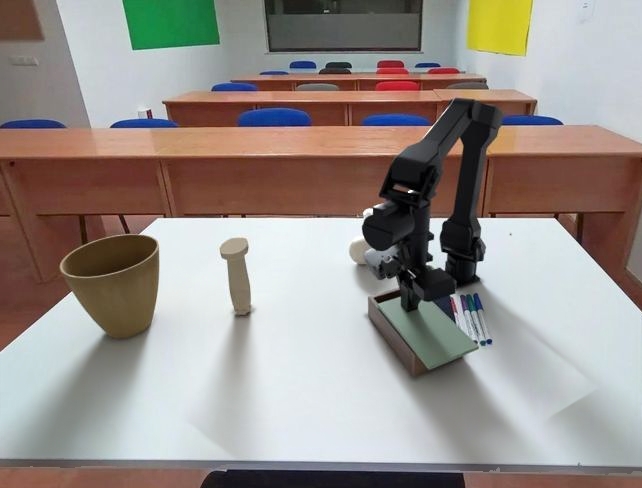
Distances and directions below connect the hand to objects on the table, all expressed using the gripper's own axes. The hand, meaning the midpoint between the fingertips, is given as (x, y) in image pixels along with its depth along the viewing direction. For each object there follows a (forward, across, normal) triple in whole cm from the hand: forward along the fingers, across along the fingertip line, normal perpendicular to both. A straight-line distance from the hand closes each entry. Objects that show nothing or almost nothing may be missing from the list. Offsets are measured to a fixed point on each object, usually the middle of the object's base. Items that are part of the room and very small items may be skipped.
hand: (409, 303), depth 72 cm
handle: (+6, -20, -27) cm, 34 cm away
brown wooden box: (+6, +1, 0) cm, 6 cm away
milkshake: (+6, -35, +10) cm, 37 cm away
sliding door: (+1, +5, 0) cm, 5 cm away
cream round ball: (+6, -26, +3) cm, 27 cm away
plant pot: (+6, -24, -47) cm, 53 cm away
